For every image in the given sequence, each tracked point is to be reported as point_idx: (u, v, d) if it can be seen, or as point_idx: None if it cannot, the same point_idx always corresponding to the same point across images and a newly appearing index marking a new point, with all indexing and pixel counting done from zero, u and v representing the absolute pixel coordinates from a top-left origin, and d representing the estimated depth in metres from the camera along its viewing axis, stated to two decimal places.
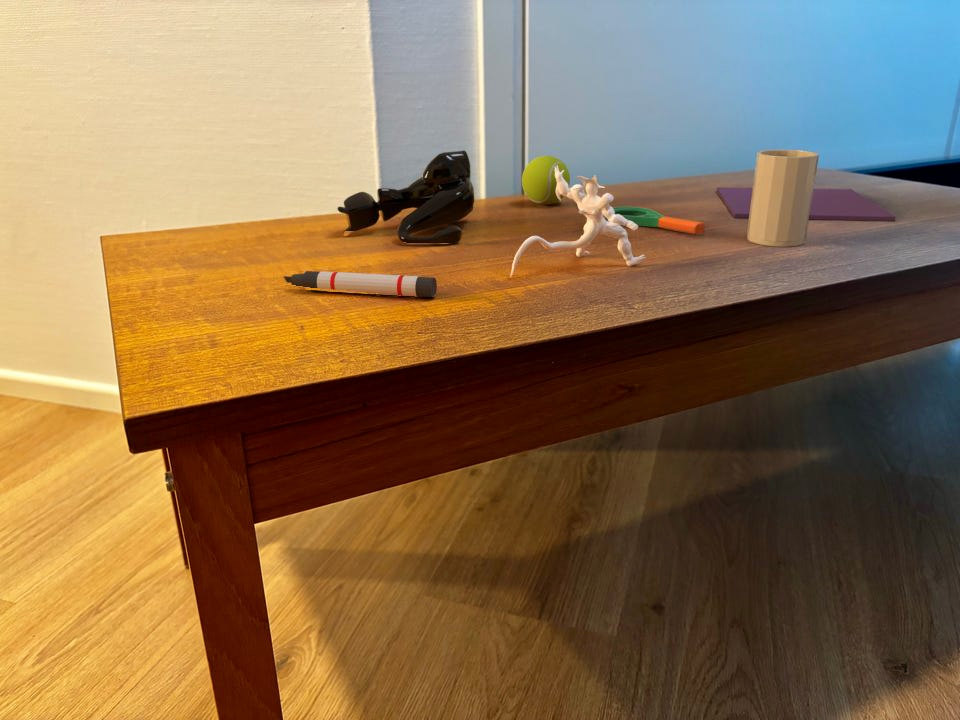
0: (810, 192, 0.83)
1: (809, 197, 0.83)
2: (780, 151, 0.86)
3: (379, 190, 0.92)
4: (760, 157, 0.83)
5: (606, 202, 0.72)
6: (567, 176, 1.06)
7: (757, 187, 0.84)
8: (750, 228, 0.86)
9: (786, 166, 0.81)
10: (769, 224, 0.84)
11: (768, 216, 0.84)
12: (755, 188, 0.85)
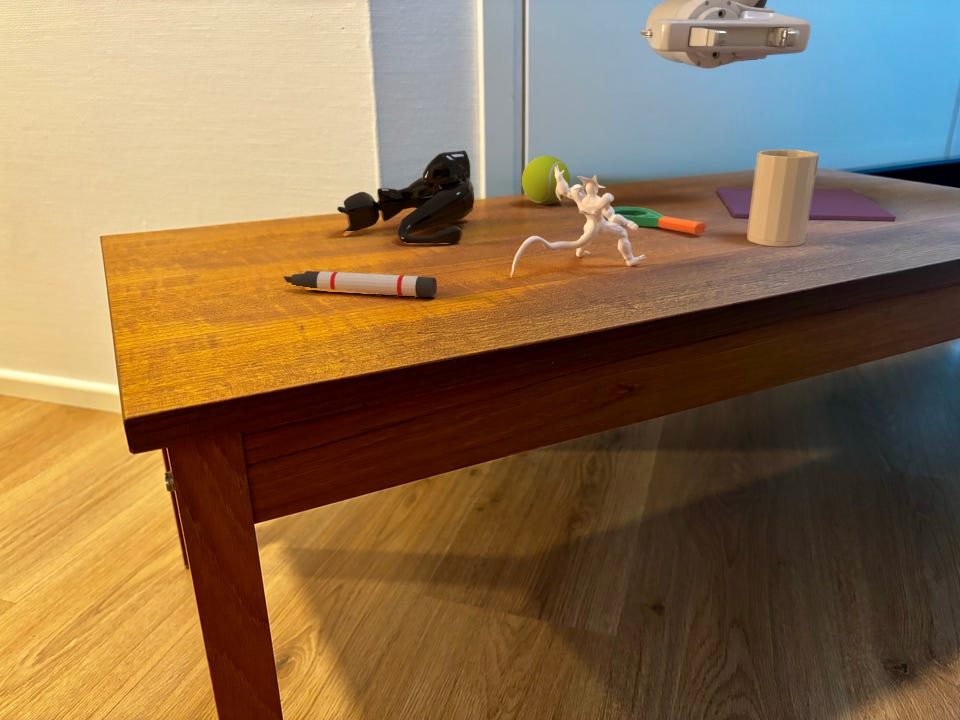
0: (810, 192, 0.83)
1: (809, 197, 0.83)
2: (780, 151, 0.86)
3: (379, 190, 0.92)
4: (760, 157, 0.83)
5: (606, 202, 0.72)
6: (567, 176, 1.06)
7: (757, 187, 0.84)
8: (750, 228, 0.86)
9: (786, 166, 0.81)
10: (769, 224, 0.84)
11: (768, 216, 0.84)
12: (755, 188, 0.85)
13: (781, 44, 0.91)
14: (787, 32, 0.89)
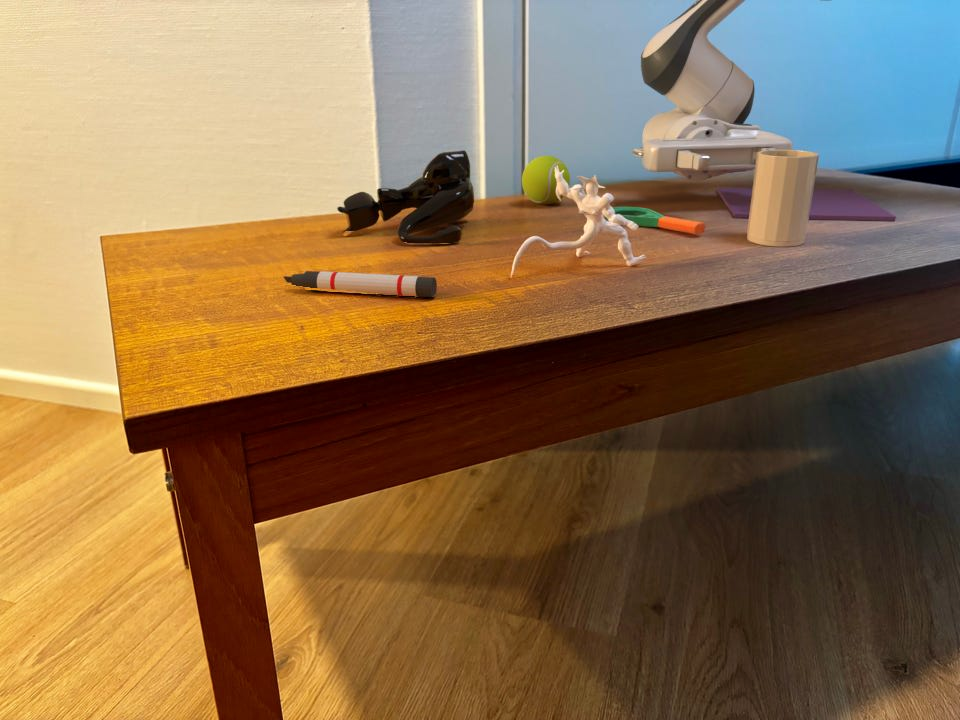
0: (810, 192, 0.83)
1: (809, 197, 0.83)
2: (780, 151, 0.86)
3: (379, 190, 0.92)
4: (760, 157, 0.83)
5: (606, 202, 0.72)
6: (567, 176, 1.06)
7: (757, 187, 0.84)
8: (750, 228, 0.86)
9: (786, 166, 0.81)
10: (769, 224, 0.84)
11: (768, 216, 0.84)
12: (755, 188, 0.85)
13: None
14: None
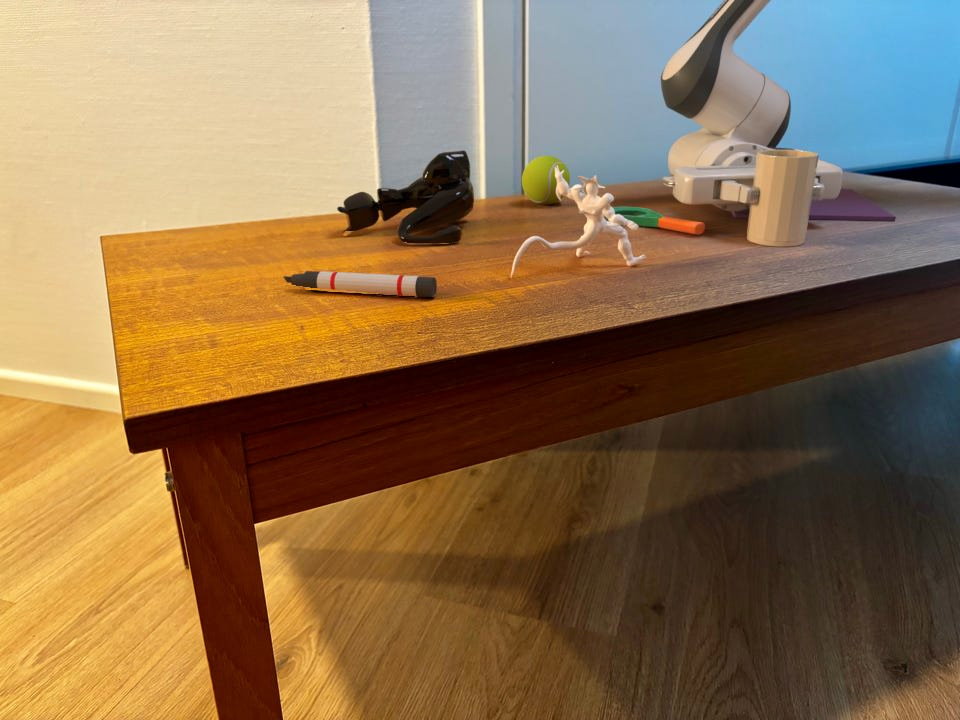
0: (810, 192, 0.83)
1: (809, 197, 0.83)
2: (780, 151, 0.86)
3: (379, 190, 0.92)
4: (760, 157, 0.83)
5: (606, 202, 0.72)
6: (567, 176, 1.06)
7: None
8: (750, 228, 0.86)
9: (786, 166, 0.81)
10: (769, 224, 0.84)
11: (768, 216, 0.84)
12: None
13: None
14: None
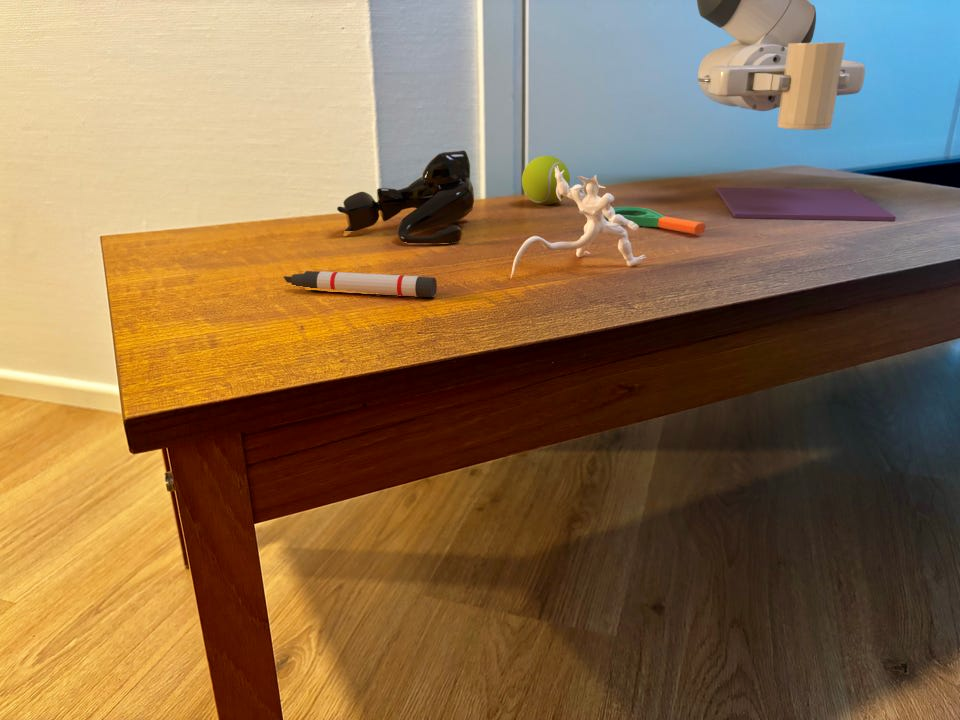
0: (837, 78, 0.91)
1: (836, 82, 0.91)
2: None
3: (379, 190, 0.92)
4: (791, 46, 0.91)
5: (606, 202, 0.72)
6: (567, 176, 1.06)
7: None
8: (781, 115, 0.94)
9: (815, 52, 0.89)
10: (799, 108, 0.92)
11: (798, 101, 0.92)
12: None
13: None
14: None
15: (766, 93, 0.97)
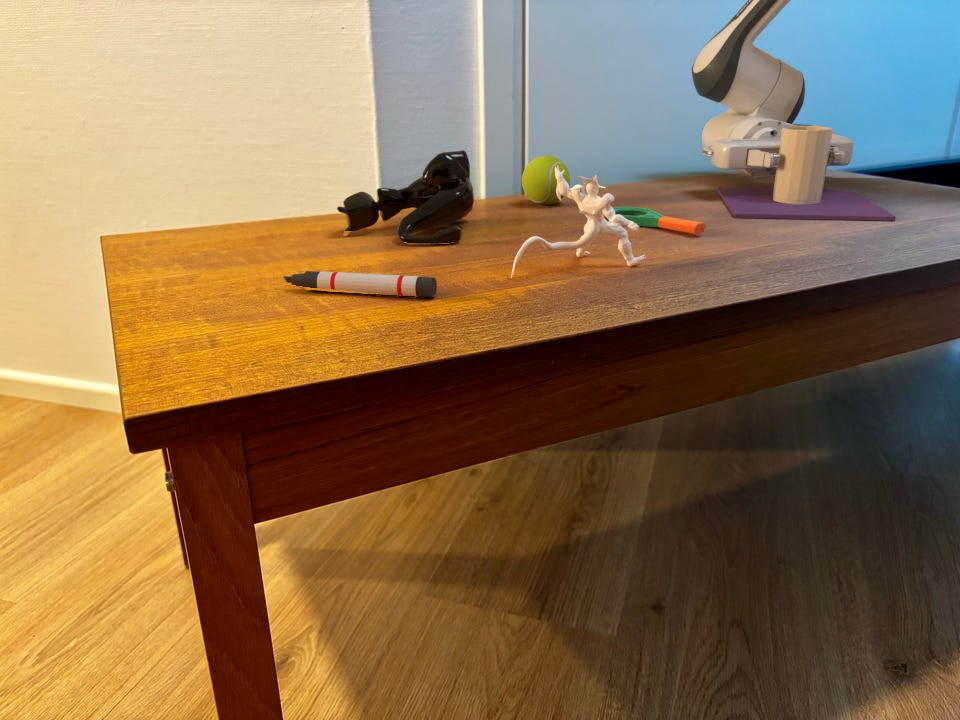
0: (826, 159, 1.01)
1: (825, 163, 1.01)
2: (800, 127, 1.04)
3: (379, 190, 0.92)
4: (785, 131, 1.02)
5: (607, 202, 0.72)
6: (567, 176, 1.06)
7: (782, 156, 1.03)
8: (776, 190, 1.05)
9: (806, 138, 0.99)
10: (792, 186, 1.02)
11: (791, 179, 1.02)
12: None
13: (828, 162, 1.04)
14: (834, 153, 1.03)
15: (764, 167, 1.07)
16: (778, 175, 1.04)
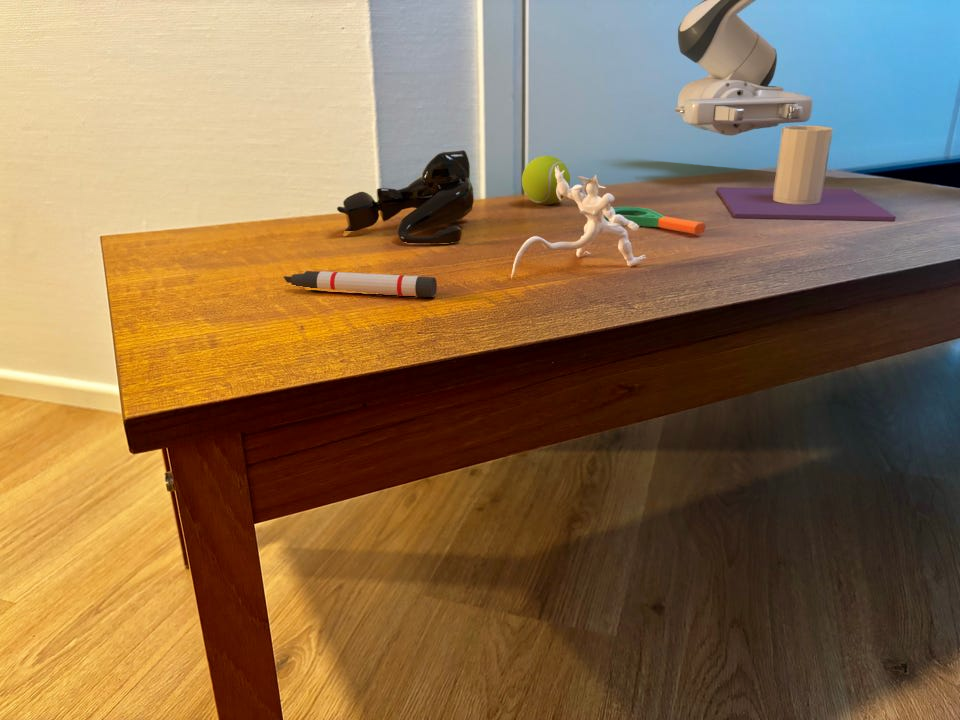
0: (826, 159, 1.01)
1: (825, 163, 1.01)
2: (800, 127, 1.04)
3: (379, 190, 0.92)
4: (785, 131, 1.02)
5: (607, 202, 0.72)
6: (567, 176, 1.06)
7: (782, 156, 1.03)
8: (776, 190, 1.05)
9: (806, 138, 0.99)
10: (792, 186, 1.02)
11: (791, 179, 1.02)
12: (780, 157, 1.03)
13: (788, 117, 1.14)
14: (792, 108, 1.13)
15: (730, 122, 1.17)
16: (778, 175, 1.04)
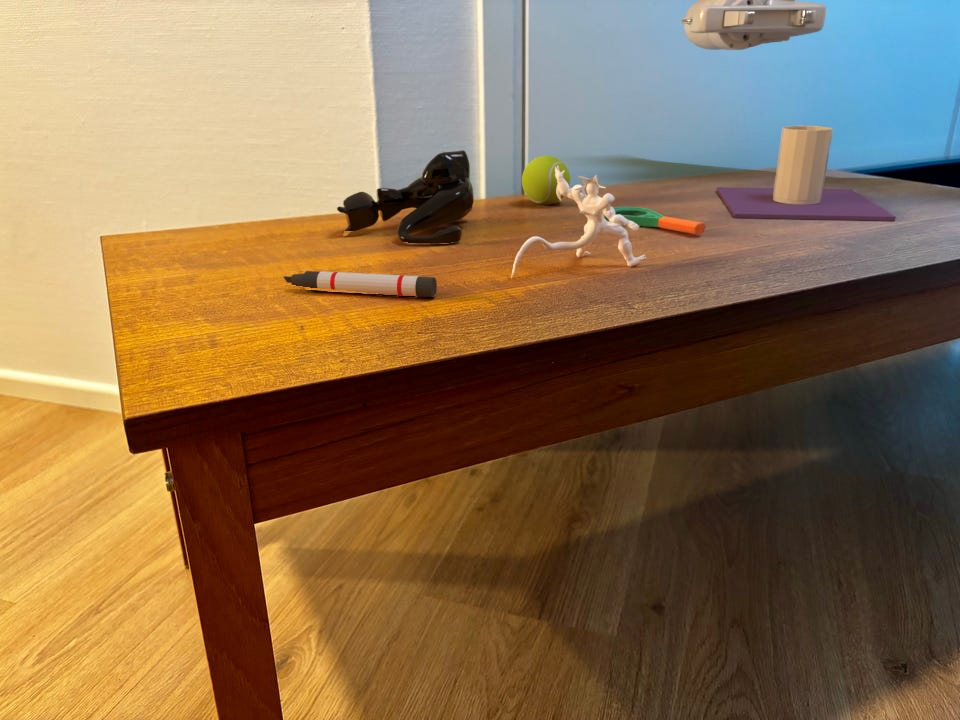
0: (826, 159, 1.01)
1: (825, 163, 1.01)
2: (800, 127, 1.04)
3: (378, 190, 0.92)
4: (785, 131, 1.02)
5: (607, 202, 0.72)
6: (567, 176, 1.06)
7: (782, 156, 1.03)
8: (776, 190, 1.05)
9: (806, 138, 0.99)
10: (792, 186, 1.02)
11: (791, 179, 1.02)
12: (780, 157, 1.03)
13: (801, 22, 1.09)
14: (805, 11, 1.08)
15: (740, 29, 1.12)
16: (778, 175, 1.04)
